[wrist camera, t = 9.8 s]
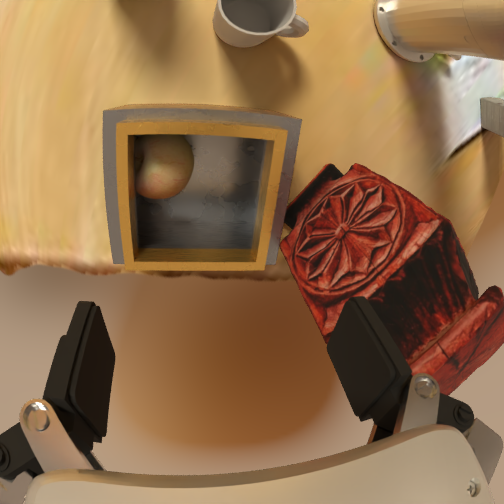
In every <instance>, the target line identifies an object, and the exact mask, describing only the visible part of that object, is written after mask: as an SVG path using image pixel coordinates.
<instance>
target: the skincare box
mask: <svg viewBox="0 0 504 504" xmlns="http://www.w3.org/2000/svg"><path fill="white" fill-rule="evenodd" d="M481 127H482V128H485V129H487V130H489V131H491V132H494V133H496V134H498V135H500V136H502V137H504V100H503V99H500V98H492V97H486V98H481Z"/></svg>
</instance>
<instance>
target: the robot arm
mask: <svg viewBox="0 0 504 504" xmlns="http://www.w3.org/2000/svg"><path fill="white" fill-rule="evenodd" d="M374 19H375V24H376V27H377V29H378V32H379V34H380V35H381V37H382V39H383V40H384V42H385V43H386V45H387V46H388V47H389V48H390V49H391V50H392V51H393V52H394V53H395V54H397V55H398V56H399V57H401V58H403V59H405V60H407V61H410V62H425V61H428V60H429V59H431V58H432V57H433V56H434V55H435V53H439V54H448V55H449V56H450V57H452V58H453V59H455V60H460V58H461V55H466V56H475V57H483V58H490V59H497V60H503V61H504V0H376V1H375V3H374ZM327 352H328V354H329V356H330V359H331V361H332V363H333V365H334V368H335V370H336V372H337V374H338V377H339V379H340V381H341V384H342V386H343V388H344V391H345V393H346V395H347V398H348V400H349V402H350V405H351V407H352V409H353V412H354V414H355V415H356V416H359V419H360V421H365V420H368V419H371V418H372V419H373V421H374V425H373V428H372V431H371V434H370V437H369V440H368V442H367V445H364V446H361V447H358V448H355V449H352V450H348V451H345V452H342V453H338V454H334V455H331V456H327V457H323V458H319V459H315V460H311V461H307V462H302V463H297V464H292V465H287V466H282V467H276V468H270V469H263V470H256V471H249V472H239V473H228V474H214V475H187V476H186V475H185V476H184V475H183V476H182V475H179V476H178V475H174V476H173V475H147V474H132V473H121V472H111V471H106V469H105V468H104V467H103V465H102V464H101V463H100V461H99V460H98V459H97V458H96V456H95V455H94V453H93V452H92V449H93V442H99V443H102V437H105V436H106V433H107V421H108V410H109V402H110V393H111V385H112V377H113V372H114V365H115V352H114V349H113V346H112V343H111V341H110V338H109V335H108V332H107V329H106V326H105V322H104V319H103V316H102V313H101V310H100V307H99V306H96V305H95V303H94V302H88V301H79V302H78V304H77V307H76V309H75V312H74V315H73V317H72V320H71V323H70V326H69V329H68V331H67V335H63V336H62V337H61V338H60V341H59V344H58V346H57V349H56V353H55V356H54V359H53V362H52V365H51V369H50V373H49V377H48V380H47V383H46V387H45V391H44V395H43V399H32V400H29V401H28V402H27V403H25V404H24V406H23V407H22V409H21V411H20V415H19V421H20V422H19V423H17V424H16V425H14V426H13V427H11V428H10V429H8V430H7V431H5V432H4V433H2V434H1V435H0V504H23V502H24V501H25V504H495V503H494V499H493V497H492V494H491V491H490V488H489V486H488V485H489V483H490V480H491V478H492V476H493V473H494V471H495V468H496V466H497V463H498V461H499V458H500V455H501V453H502V449H503V441H502V439H501V437H500V436H499V435H498V434H497V433H495V432H494V431H493V430H492V429H490V428H489V427H488V426H487V425H485V424H484V423H483V422H482V421H480V420H479V419H478V418H476V419H474V414H473V411H472V409H471V408H470V407H469V406H468V405H467V404H466V403H464V402H461V401H459V400H456V399H454V398H452V397H449V396H447V395H445V394H443V393H440V388H439V385H438V383H437V381H436V380H435V379H434V378H433V377H432V376H430V375H428V374H426V373H418V374H416V375H414V376H413V375H412V374H411V373H412V372H413V371H412V370H411V368H410V366H409V365H408V363H407V361H406V360H405V358H404V356H403V355H402V353H401V351H400V350H399V348H398V347H397V345H396V343H395V342H394V340H393V339H392V337H391V335H390V334H389V332H388V331H387V329H386V328H385V326H384V325H383V323H382V321H381V320H380V318H379V317H378V315H377V314H376V312H375V311H374V309H373V308H372V306H371V305H370V303H369V302H368V300H367V299H366V298H365V297H364V296H356V297H350V298H349V299H348V301H346V302H345V304H344V306H343V309H342V311H341V313H340V316H339V318H338V321H337V323H336V325H335V327H334V330H333V332H332V334H331V337H330V339H329V341H328V343H327ZM25 495H26V498H24V496H25Z"/></svg>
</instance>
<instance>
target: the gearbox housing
mask: <svg viewBox="0 0 504 504" xmlns="http://www.w3.org/2000/svg"><path fill="white" fill-rule="evenodd" d="M301 122H302V119H299V118H296V117H292V116H289V115H286V114H283V113H279V112H276V111H270V110H262V109H253V108H244V107H233V106H220V105H202V104H131V105H124V106H120V107H116V108H112V109H108V110H104V111H103V169H104V187H105V200H106V211H107V221H108V229H109V237H110V245H111V252H112V258H113V264H125V270H167V271H254V270H265V265H275V264H276V259H277V254H278V249H279V244H280V239H281V234H282V229H283V223H284V218H285V213H286V207H287V202H288V197H289V191H290V186H291V180H292V175H293V169H294V163H295V158H296V152H297V146H298V140H299V134H300V128H301ZM143 134H180V135H181V136H183V137H184V138H185V139H186V140H187V141H188V143H189V144H190V146H191V148H192V151H193V155H194V168H193V172H192V175H191V178H190V180H189V182H188V184H187V186H186V187H185V188H184V189H183V190H182V191H180V192H179V193H178V194H176V195H174V196H172V197H169V198H165V199H152V198H147V197H144V196H142V195H140V194H139V193H138V192H136V180H135V141H136V140H137V139H138V138H139V137H140V136H141V135H143Z"/></svg>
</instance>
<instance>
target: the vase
mask: <svg viewBox="0 0 504 504" xmlns="http://www.w3.org/2000/svg"><path fill="white" fill-rule="evenodd" d="M284 223H286V224H287V225H288V226H289V227H291V228H292V229H293V230H292V231H291V232H290V233H289V235H287V236H286V237H285V238H284V239H283V240H282V241H281V243H280V244H279V246H280V249H281V251H282V253H283V255H284V257H285V259H286V260H287V263H288V265H289V267H290V270H291V273H292V275H293V276H294V278H295V280H296V282H297V284H298V286H299V290H300V292H301V294H302V296H303V298H304V300H305V302H306V304H307V306H308V307H309V309H310V311H311V313H312V315H313V317H314V319H315V321H316V323H317V325H318V327H319V329H320V332H321V334H322V336H323V338H324V340H325V343H326V344H327V343H328V341H329V339H330V337H331V334H332V332H333V330H334V327H335V325H336V323H337V321H338V318H339V316H340V313H341V311H342V309H343V306H344V304H345V302H346V301H348V299H349V298H350V297H356V296H364V297H365V298H366V299H367V300H368V302H369V303H370V305H371V306H372V308H373V309H374V311H375V312H376V314H377V315H378V317H379V318H380V320H381V321H382V323H383V325H384V326H385V328H386V329H387V331H388V332H389V334H390V335H391V337H392V339H393V340H394V342H395V343H396V345H397V347H398V348H399V350H400V351H401V353H402V355H403V356H404V358H405V360H406V361H407V363H408V365H409V366H410V368H411V370H412V371H413V372H412V373H411V374H412V375H413V376H414V375H416V374H418V373H426V374H428V375H430V376H432V377H433V378H434V379H435V380H436V381H437V383H438V385H439V388H440V393H443V394H445V395H447V396H448V395H449V394H450V393H452V392H453V391H454V390H455V389H456V388H457V387H458V386H459V385H460V384H461V383H462V382H463V381H465V380H466V379H467V378H468V377H469V376H470V375H471V374H472V373H473V372H474V371H475V370H476V369H477V368H478V367H480V366H481V365H483V364H484V363H485V362H486V361H487V360H488V359H489V358H490V357H491V356H492V355H493V354H494V353H495V352H496V351H497V350H498V349H499V348H500V346H501V345H502V344H503V343H504V296H503V293H502V290H501V288H499V287H497V286H491V287H489V288H488V289H487V290H486V291H485V292H484V293H483V294H482V295H481V297H480V298H479V299H478V294H479V293H478V287H477V285H476V283H475V279H474V277H473V273H472V270H471V269H470V266H469V263H468V261H467V258H466V256H465V252H464V249H463V247H462V246H461V243H460V241H459V238H458V237H457V235H456V232H455V230H454V228H453V225H452V223H451V222H450V220H448V219H447V218H445V217H444V216H442V215H440V214H438V213H436V212H435V211H434V210H433V209H432V208H430V207H428V206H426V205H425V204H424V203H423V202H422V201H421V200H419V199H418V198H417V197H415V196H414V195H413V194H411V193H410V192H409V191H407V190H405V189H404V188H402V187H400V186H398V185H396V184H394V183H392V182H391V181H389V180H388V179H387V178H385V177H383V176H381V175H379V174H376V173H375V172H373V171H371V170H370V169H368V168H367V167H365V166H363V165H360V164H357V163H355V164H354V165H352V166H351V167H350V169H349V171H348V172H347V173H346V174H345V175H343V174H342V173H341V172H340V171H339V170H338V169H337V168H336V167H335V166H334V165H333V164H327V165H325V166H324V167H323V169H322V170H321V171H320V172H319V173H318V174H317V175H316V176H315V178H314V179H313V180H312V181H311V182H310V183H309V184H308V185H307V186H306V187H305V189H304V190H303V191H302V192H301V193H300V194H299V195H298V196H297V197H296V198H295V199H294V200H293V201H292V202H291V203H290V205H289V206H288V207H287V208H286V213H285V218H284Z"/></svg>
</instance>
